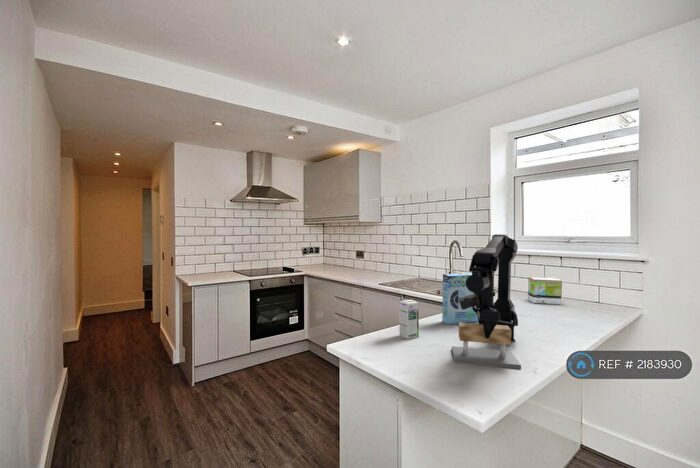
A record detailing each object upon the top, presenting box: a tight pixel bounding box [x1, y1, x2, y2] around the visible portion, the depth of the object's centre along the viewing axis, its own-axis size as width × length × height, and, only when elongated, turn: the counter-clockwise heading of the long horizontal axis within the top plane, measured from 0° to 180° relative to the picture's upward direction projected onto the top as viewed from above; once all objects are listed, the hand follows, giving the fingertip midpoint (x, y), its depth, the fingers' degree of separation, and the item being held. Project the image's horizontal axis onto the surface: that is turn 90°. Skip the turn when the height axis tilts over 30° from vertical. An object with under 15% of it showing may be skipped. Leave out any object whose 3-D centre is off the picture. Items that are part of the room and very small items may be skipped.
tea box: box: [527, 276, 563, 305], centre depth 194 cm, size 15×10×15 cm, turn 81°
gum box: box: [441, 272, 478, 325], centre depth 153 cm, size 20×5×23 cm, turn 105°
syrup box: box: [398, 299, 420, 340], centre depth 132 cm, size 6×6×14 cm
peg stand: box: [451, 341, 522, 370], centre depth 110 cm, size 20×12×6 cm, turn 77°
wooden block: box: [458, 322, 512, 346], centre depth 109 cm, size 16×5×5 cm, turn 77°
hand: (484, 333), depth 110 cm, fingers open, 9 cm apart
